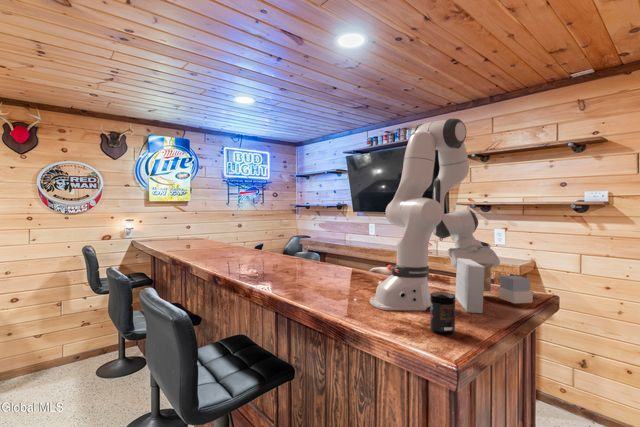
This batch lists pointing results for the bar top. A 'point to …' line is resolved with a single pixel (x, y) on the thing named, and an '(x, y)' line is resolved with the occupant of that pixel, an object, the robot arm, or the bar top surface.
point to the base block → (516, 296)
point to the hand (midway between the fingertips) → (482, 275)
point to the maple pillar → (487, 277)
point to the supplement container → (442, 313)
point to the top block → (515, 283)
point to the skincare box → (470, 285)
